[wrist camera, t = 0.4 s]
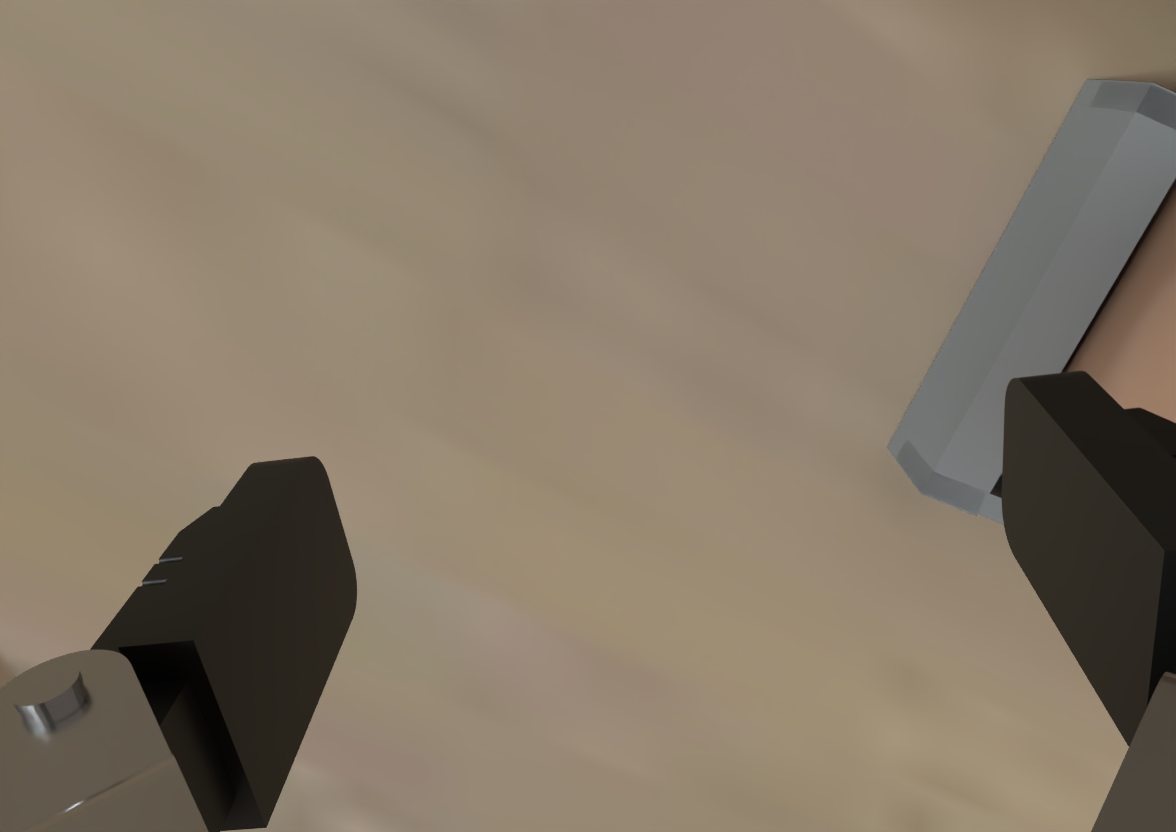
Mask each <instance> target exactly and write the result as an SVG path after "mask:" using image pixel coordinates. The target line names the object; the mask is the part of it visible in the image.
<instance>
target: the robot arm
mask: <svg viewBox="0 0 1176 832" xmlns="http://www.w3.org/2000/svg"><path fill="white" fill-rule="evenodd" d="M1002 514H1003V522H1004V527H1005V532H1006V536H1007V539H1008V543H1009V545H1010V548H1011V550H1012V553H1013V555H1014V557H1015V558H1016V560H1017V562H1018V563H1019V565H1020V567H1021V568H1022V570H1023V572H1024V573H1025V575H1026V577H1027V578H1028V580H1029V582H1030V583H1031V585H1032V587H1033V588H1034V590H1035V591H1036V593H1037V595H1038V596H1039V598H1040V600H1041V601H1042V603H1043V605H1044V606H1045V608H1046V610H1047V611H1048V613H1049V615H1050V616H1051V618H1052V620H1053V621H1054V623H1055V625H1056V626H1057V628H1058V630H1059V631H1060V633H1061V635H1062V636H1063V638H1064V640H1065V641H1066V643H1067V645H1068V646H1069V648H1070V650H1071V651H1072V653H1073V655H1074V656H1075V658H1076V660H1077V661H1078V663H1079V665H1080V666H1081V668H1082V670H1083V671H1084V673H1085V675H1086V676H1087V678H1088V680H1089V681H1090V683H1091V685H1092V686H1093V688H1094V690H1095V691H1096V693H1097V695H1098V696H1099V698H1100V700H1101V701H1102V703H1103V705H1104V706H1105V708H1106V710H1107V711H1108V713H1109V715H1110V716H1111V718H1112V720H1113V721H1114V723H1115V725H1116V726H1117V728H1118V730H1119V731H1120V733H1121V735H1122V736H1123V738H1124V740H1125V741H1126V743H1127V745H1128V746H1129V749H1128V751H1127V753H1126V755H1125V758H1124V760H1123V762H1122V764H1121V767H1120V769H1119V771H1118V773H1117V775H1116V778H1115V780H1114V782H1113V784H1112V787H1111V789H1110V791H1109V793H1108V795H1107V798H1106V800H1105V802H1104V804H1103V806H1102V809H1101V811H1100V813H1099V815H1098V818H1097V820H1096V822H1095V824H1094V826H1093V829H1092V831H1091V832H1176V423H1174V422H1172V421H1170V420H1167V419H1165V418H1163V417H1161V416H1158V415H1156V414H1154V413H1152V412H1149V411H1147V410H1145V409H1142V408H1140V407H1139V408H1130V409H1123V408H1122V407H1121V406H1120V405H1119V404H1118V403H1117V402H1116V401H1115V400H1114V399H1113V398H1112V397H1111V396H1110V395H1109V394H1108V393H1107V392H1106V391H1105V390H1104V389H1103V388H1102V387H1101V386H1100V385H1099V384H1098V383H1097V382H1096V381H1095V380H1094V379H1093V378H1092V377H1091V376H1090V375H1089V374H1088V373H1086V372H1085V371H1073V372H1064V373H1055V374H1046V375H1037V376H1029V377H1020V378H1013V379H1011V380H1010V382H1009V384H1008V386H1007V390H1006V395H1005V408H1004V440H1003V472H1002ZM142 583H143V585H142V586H141V587H137V588H136V590H135V591H134V592H133V594H132V595H131V596H130V598H129V599H128V600H127V602H126V603H125V604H124V606H123V607H122V608H121V609H120V611H119V612H118V613H117V615H116V616H115V617H114V619H113V620H112V621H111V623H110V624H109V625H108V627H107V628H106V629H105V631H104V632H103V633H102V634H101V636H100V637H99V638H98V640H97V641H96V642H95V644H94V645H93V646H92V648H91V649H90V650H86V651H79V652H74V653H70V654H66V655H63V656H60V657H57V658H54V659H51V660H49V661H46V662H44V663H41V664H39V665H37V666H35V667H33V668H31V669H29V670H27V671H25V672H23V673H22V674H20V675H18V676H17V677H15V678H13V679H12V680H11V681H9V682H8V683H6V684H5V685H3V686H2V687H1V688H0V832H220V831H227V830H240V829H254V828H266V827H267V825H268V822H269V820H270V817H271V815H272V813H273V810H274V808H275V805H276V803H277V801H278V798H279V796H280V793H281V791H282V788H283V786H284V784H285V781H286V779H287V776H288V774H289V771H290V769H291V767H292V764H293V762H294V759H295V757H296V755H297V752H298V750H299V747H300V745H301V742H302V740H303V738H304V735H305V733H306V730H307V728H308V725H309V723H310V721H311V718H312V716H313V713H314V711H315V708H316V706H317V704H318V701H319V699H320V696H321V694H322V692H323V689H324V687H325V684H326V682H327V679H328V677H329V675H330V672H331V670H332V667H333V665H334V662H335V660H336V658H337V655H338V653H339V650H340V648H341V646H342V643H343V641H344V638H345V636H346V633H347V631H348V629H349V626H350V624H351V621H352V619H353V616H354V613H355V608H356V600H357V581H356V573H355V568H354V564H353V560H352V557H351V553H350V550H349V546H348V543H347V540H346V536H345V533H344V529H343V526H342V523H341V519H340V516H339V512H338V509H337V506H336V502H335V499H334V495H333V492H332V488H331V485H330V482H329V478H328V475H327V472H326V470H325V468H324V466H323V464H322V463H321V461H320V460H319V459H318V458H316V457H314V456H311V457H302V458H293V459H284V460H275V461H267V462H258V463H253V464H251V465H250V466H249V467H248V468H247V470H246V471H245V472H244V474H243V475H242V477H241V478H240V479H239V481H238V482H237V484H236V485H235V486H234V488H233V489H232V490H231V492H230V493H229V495H228V496H227V497H226V499H225V500H224V501H223V503H222V504H221V506H218V507H213V508H211V509H210V510H209V511H207V512H206V513H205V514H203V515H202V516H200V517H199V518H198V519H196V520H195V521H194V522H192V523H191V524H190V525H188V526H187V527H186V528H184V529H183V530H181V531H180V532H179V533H178V534H177V536H176V537H175V538H174V540H173V541H172V542H171V544H170V545H169V546H168V548H167V549H166V550H165V552H164V553H163V554H162V555H161V557H160V558H159V564H155V565H154V566H153V567H152V569H151V570H150V571H149V573H148V574H147V575H146V577H145V578H144V579H143V581H142Z"/></svg>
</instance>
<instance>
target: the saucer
mask: <svg viewBox="0 0 1176 832" xmlns="http://www.w3.org/2000/svg"><path fill="white" fill-rule="evenodd" d="M1073 371H1085V372H1086V373H1088V374H1089V375H1090V376H1091V377H1092V378H1093V379H1094V380H1095V381H1096V382H1097V383H1098V384H1099V385H1100V386H1101V387H1102V388H1103V389H1104V390H1105V391H1106V392H1107V393H1108V394H1109V395H1110V396H1111V397H1112V398H1113V399H1114V400H1115V401H1116V402H1117V403H1118V404H1119V405H1120V406H1121V407H1122V408H1123V409H1130V408H1139V407H1140V408H1142V409H1145V410H1147V411H1149V412H1152V413H1154V414H1156V415H1158V416H1161V417H1163V418H1165V419H1167V420H1170V421H1172V422H1174V423H1176V184H1175V185H1174V186H1172V187H1170V188H1169V190H1168V192H1167V194H1166V195H1165V197H1164V199H1163V200H1162V202H1161V204H1160V205H1159V207H1158V209H1157V210H1156V212H1155V214H1154V216H1153V217H1152V219H1151V221H1150V222H1149V224H1148V226H1147V227H1146V229H1145V231H1144V233H1143V234H1142V236H1141V238H1140V239H1139V241H1138V243H1137V244H1136V246H1135V248H1134V250H1133V251H1132V253H1131V255H1130V256H1129V258H1128V260H1127V261H1126V263H1125V265H1124V266H1123V268H1122V270H1121V272H1120V273H1119V275H1118V277H1117V278H1116V280H1115V282H1114V283H1113V285H1112V287H1111V289H1110V290H1109V292H1108V294H1107V295H1106V297H1105V299H1104V300H1103V302H1102V304H1101V305H1100V307H1099V309H1098V311H1097V312H1096V314H1095V316H1094V317H1093V319H1092V321H1091V322H1090V324H1089V326H1088V328H1087V329H1086V331H1085V333H1084V334H1083V336H1082V338H1081V339H1080V341H1079V343H1078V344H1077V346H1076V348H1075V350H1074V351H1073V353H1072V355H1071V356H1070V358H1069V360H1068V361H1067V363H1066V365H1065V367H1064V368H1063V370H1062V372H1061V373H1064V372H1073Z"/></svg>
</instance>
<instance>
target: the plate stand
mask: <svg viewBox="0 0 1176 832" xmlns="http://www.w3.org/2000/svg"><path fill="white" fill-rule="evenodd" d="M1175 184H1176V93H1174V92H1172V91H1170V90H1168V89H1166V88H1163V87H1161V86H1159V85H1157V84H1155V83H1150V82H1131V81H1112V80H1092V79H1087V80H1086V82H1085V84H1084V86H1083V88H1082V90H1081V91H1080V93H1079V95H1078V97H1077V99H1076V101H1075V102H1074V104H1073V106H1072V108H1071V110H1070V112H1069V114H1068V115H1067V117H1066V119H1065V121H1064V123H1063V125H1062V126H1061V128H1060V130H1059V132H1058V134H1057V136H1056V137H1055V139H1054V141H1053V143H1052V145H1051V147H1050V149H1049V150H1048V152H1047V154H1046V156H1045V158H1044V160H1043V161H1042V163H1041V165H1040V167H1039V169H1038V171H1037V173H1036V174H1035V176H1034V178H1033V180H1032V182H1031V184H1030V185H1029V187H1028V189H1027V191H1026V193H1025V195H1024V196H1023V198H1022V200H1021V202H1020V204H1019V206H1018V208H1017V209H1016V211H1015V213H1014V215H1013V217H1012V219H1011V220H1010V222H1009V224H1008V226H1007V228H1006V230H1005V232H1004V233H1003V235H1002V237H1001V239H1000V241H999V243H998V244H997V246H996V248H995V250H994V252H993V254H992V255H991V257H990V259H989V261H988V263H987V265H986V267H985V268H984V270H983V272H982V274H981V276H980V278H979V279H978V281H977V283H976V285H975V287H974V289H973V291H972V292H971V294H970V296H969V298H968V300H967V302H966V303H965V305H964V307H963V309H962V311H961V313H960V314H959V316H958V318H957V320H956V322H955V324H954V326H953V327H952V329H951V331H950V333H949V335H948V337H947V338H946V340H945V342H944V344H943V346H942V348H941V350H940V351H939V353H938V355H937V357H936V359H935V361H934V362H933V364H932V366H931V368H930V370H929V372H928V373H927V375H926V377H925V379H924V381H923V383H922V385H921V386H920V388H919V390H918V392H917V394H916V396H915V397H914V399H913V401H912V403H911V405H910V407H909V409H908V410H907V412H906V414H905V416H904V418H903V420H902V421H901V423H900V425H899V427H898V429H897V431H896V432H895V434H894V436H893V438H892V440H891V442H890V444H889V445H888V447H887V448H888V449H889V451H890V452H891V454H892V455H893V456H894V458H895V459H896V461H897V462H898V463H899V465H900V466H901V467H902V469H903V470H904V472H905V473H906V474H907V476H908V477H909V479H910V480H911V481H912V483H913V484H914V485H915V487H916V488H917V490H918V491H919V492H920V494H922V495H924V496H927V497H930V498H932V499H935V500H937V501H940V502H942V503H945V504H948V505H950V506H953V507H955V508H958V509H960V510H963V511H966V512H968V513H971V514H973V515H976V516H977V514H978V515H980V516H983V517H985V518H988V519H991V520H993V521H996V522H998V523H1001V524H1003V525H1004V522H1003V514H1002V472H1003V440H1004V408H1005V395H1006V390H1007V386H1008V384H1009V382H1010V380H1011V379H1013V378H1020V377H1029V376H1037V375H1046V374H1055V373H1061V372H1062V370H1063V368H1064V367H1065V365H1066V363H1067V361H1068V360H1069V358H1070V356H1071V355H1072V353H1073V351H1074V350H1075V348H1076V346H1077V344H1078V343H1079V341H1080V339H1081V338H1082V336H1083V334H1084V333H1085V331H1086V329H1087V328H1088V326H1089V324H1090V322H1091V321H1092V319H1093V317H1094V316H1095V314H1096V312H1097V311H1098V309H1099V307H1100V305H1101V304H1102V302H1103V300H1104V299H1105V297H1106V295H1107V294H1108V292H1109V290H1110V289H1111V287H1112V285H1113V283H1114V282H1115V280H1116V278H1117V277H1118V275H1119V273H1120V272H1121V270H1122V268H1123V266H1124V265H1125V263H1126V261H1127V260H1128V258H1129V256H1130V255H1131V253H1132V251H1133V250H1134V248H1135V246H1136V244H1137V243H1138V241H1139V239H1140V238H1141V236H1142V234H1143V233H1144V231H1145V229H1146V227H1147V226H1148V224H1149V222H1150V221H1151V219H1152V217H1153V216H1154V214H1155V212H1156V210H1157V209H1158V207H1159V205H1160V204H1161V202H1162V200H1163V199H1164V197H1165V195H1166V194H1167V192H1168V190H1169V188H1170V187H1172V186H1174V185H1175Z"/></svg>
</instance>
